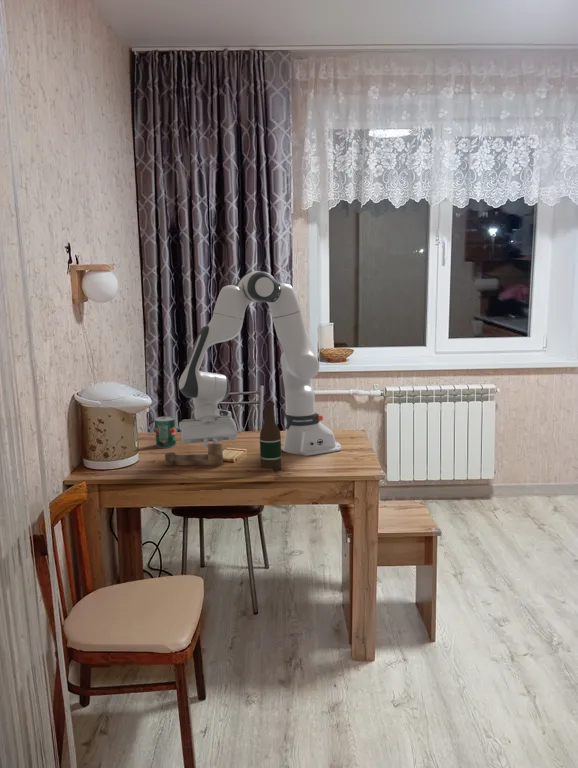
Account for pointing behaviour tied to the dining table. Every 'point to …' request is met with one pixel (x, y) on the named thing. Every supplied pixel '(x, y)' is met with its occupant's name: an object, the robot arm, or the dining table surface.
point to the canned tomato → (165, 432)
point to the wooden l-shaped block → (197, 457)
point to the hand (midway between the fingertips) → (211, 451)
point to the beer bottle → (270, 440)
